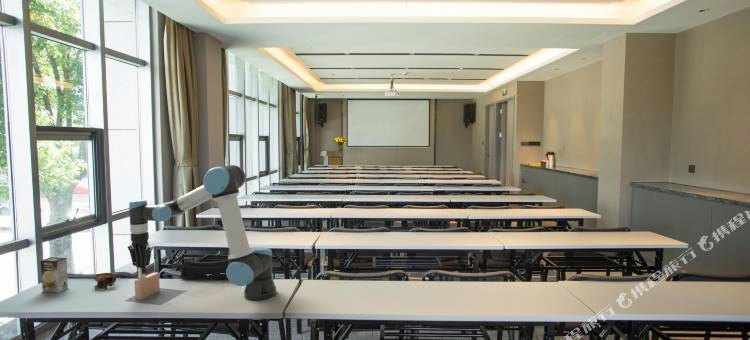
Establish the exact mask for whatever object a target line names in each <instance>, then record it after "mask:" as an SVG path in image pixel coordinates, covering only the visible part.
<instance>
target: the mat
mask: <svg viewBox="0 0 750 340" xmlns="http://www.w3.org/2000/svg"><path fill="white" fill-rule="evenodd" d="M186 292H187V290H183V289H182V290H181V289H173V288H165V287H164V288H163V287H160V291H158V292H156V293H154V294H151V295H149V296H147V297H145V298H143V299H141V300H139V299H135V295H133V296H132V297H129V298H128V299H125V300H124V302H130V303H131V302H132V303H137V304H138V303H140V304H146V305H154V306H161V305H163V304H165V303H167V302H169V301H171V300H172V299H175V298H177V297H178V296H180V295H183V294H184V293H186Z"/></svg>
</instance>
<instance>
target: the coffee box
mask: <svg viewBox="0 0 750 340" xmlns="http://www.w3.org/2000/svg"><path fill="white" fill-rule="evenodd" d="M67 260H68V259H67V257H59V256H58V257H57V256H54V257H53V256H50V257H48V258H45V259H41V260H40V271H41V273H40V275H41V289H42V290H41V291H42V293H58V294H59V293H61V292H63V291H65V290H67V289H69V279H68V277H69V276H68V263H67V262H68V261H67Z"/></svg>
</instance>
